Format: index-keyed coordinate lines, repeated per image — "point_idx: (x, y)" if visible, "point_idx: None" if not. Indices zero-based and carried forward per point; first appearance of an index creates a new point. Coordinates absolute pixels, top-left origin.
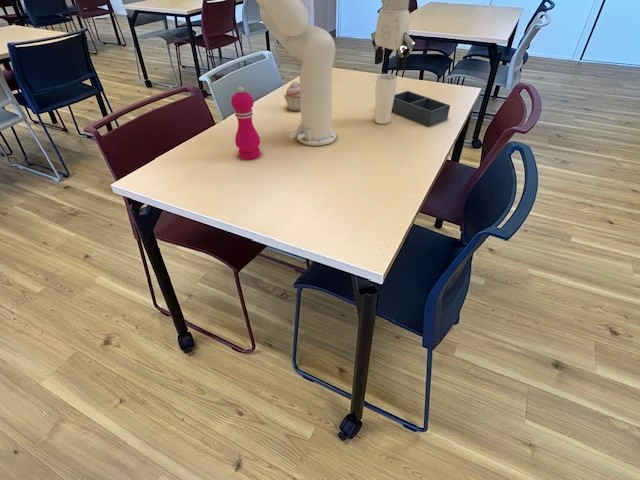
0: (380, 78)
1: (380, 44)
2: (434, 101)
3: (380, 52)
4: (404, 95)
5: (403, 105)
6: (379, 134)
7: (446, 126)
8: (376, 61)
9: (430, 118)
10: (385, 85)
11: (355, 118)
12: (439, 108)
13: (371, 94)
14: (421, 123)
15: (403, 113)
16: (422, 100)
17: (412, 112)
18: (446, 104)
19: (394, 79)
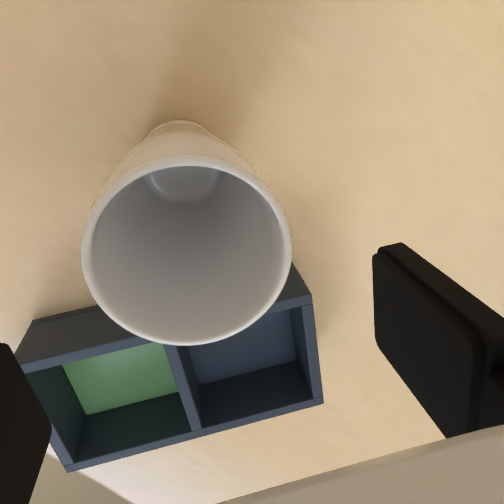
0: (275, 233)
1: (444, 492)
2: (149, 440)
3: (452, 390)
4: (306, 372)
5: None
6: (19, 37)
7: None
8: (389, 265)
9: (19, 347)
10: (104, 183)
11: (291, 48)
12: None
13: (476, 293)
14: (75, 311)
15: None
16: (183, 403)
17: None
18: (81, 464)
19: (89, 287)
